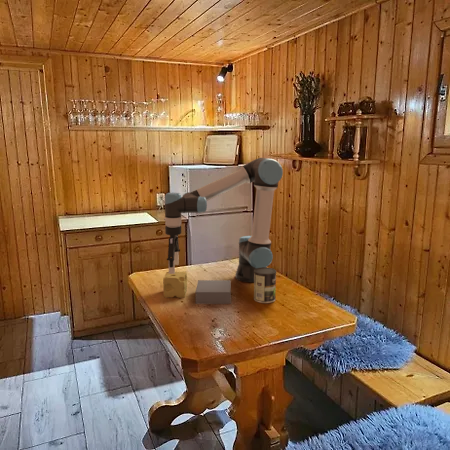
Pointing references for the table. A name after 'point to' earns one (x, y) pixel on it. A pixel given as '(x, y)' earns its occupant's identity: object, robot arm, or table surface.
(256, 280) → the coffee can
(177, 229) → the robot arm
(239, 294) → the table surface
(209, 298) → the charcoal block
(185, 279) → the cheese
